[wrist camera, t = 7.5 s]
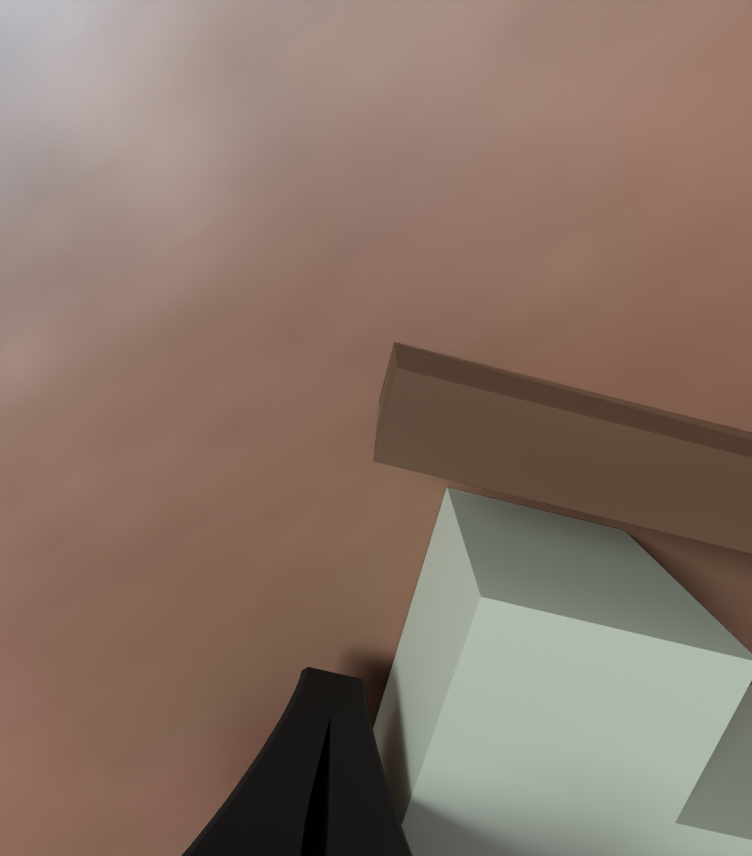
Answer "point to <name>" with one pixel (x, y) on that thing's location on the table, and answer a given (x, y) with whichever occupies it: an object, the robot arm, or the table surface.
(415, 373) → the wooden tray
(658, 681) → the t block
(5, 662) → the table surface
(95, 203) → the table surface
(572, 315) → the table surface
